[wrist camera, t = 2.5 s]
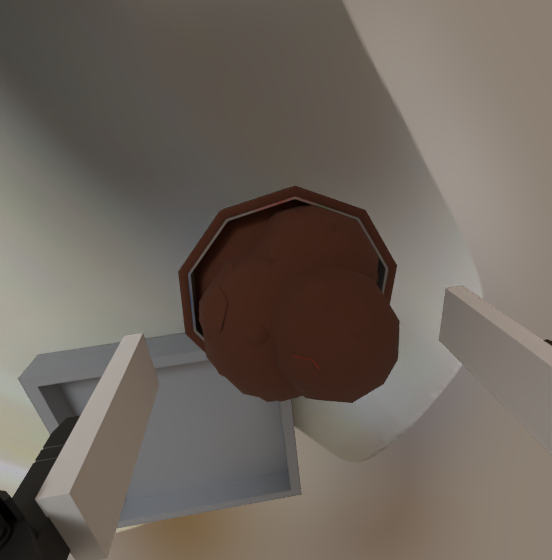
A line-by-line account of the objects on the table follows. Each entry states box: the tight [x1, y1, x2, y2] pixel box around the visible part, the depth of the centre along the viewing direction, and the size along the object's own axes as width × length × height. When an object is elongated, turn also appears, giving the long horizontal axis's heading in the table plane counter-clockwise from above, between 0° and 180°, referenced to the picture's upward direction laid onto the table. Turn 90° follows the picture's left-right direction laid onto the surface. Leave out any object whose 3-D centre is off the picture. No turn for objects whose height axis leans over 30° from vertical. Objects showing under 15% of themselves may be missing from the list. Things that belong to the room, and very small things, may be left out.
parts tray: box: [18, 333, 301, 528], centre depth 30 cm, size 20×20×3 cm
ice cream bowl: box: [178, 186, 399, 403], centre depth 18 cm, size 11×11×15 cm
